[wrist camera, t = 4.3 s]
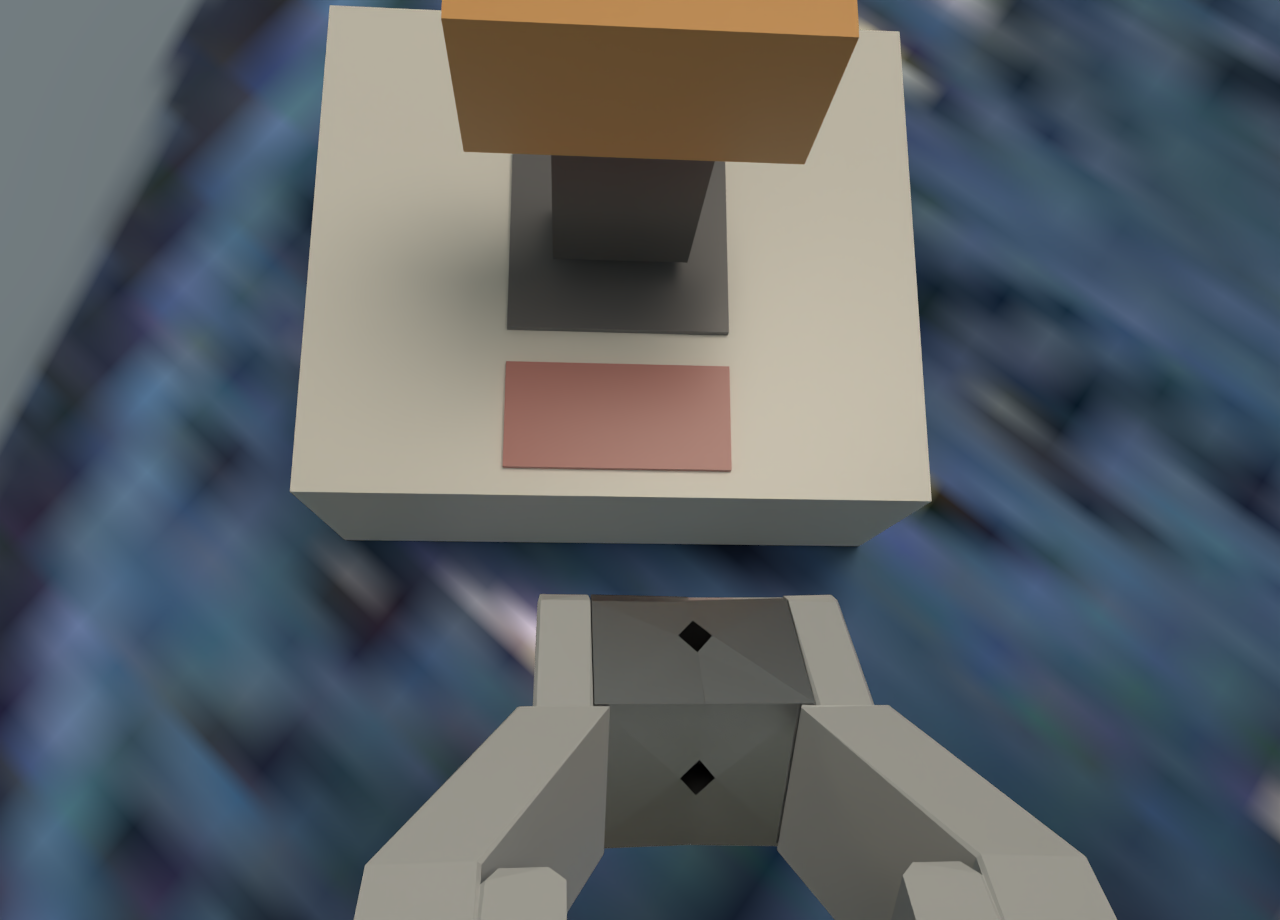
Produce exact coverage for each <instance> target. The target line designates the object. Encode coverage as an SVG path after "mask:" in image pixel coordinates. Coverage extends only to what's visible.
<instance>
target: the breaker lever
mask: <svg viewBox="0 0 1280 920" xmlns="http://www.w3.org/2000/svg"><path fill="white" fill-rule="evenodd" d="M441 21H442V26H443V32H444V38H445V44H446V50H447V56H448V62H449V68H450V74H451V80H452V86H453V92H454V98H455V104H456V110H457V115H458V121H459V127H460V133H461V139H462V145H463V151H464V152H481V153H508V154H535V155H551V178H552V235H553V259H582V260H615V261H648V262H681V263H687V262H688V259H689V255H690V251H691V248H692V244H693V240H694V236H695V233H696V229H697V225H698V222H699V218H700V214H701V211H702V207H703V203H704V199H705V196H706V192H707V188H708V185H709V181H710V177H711V174H712V170H713V166H714V162H715V161H724V162H751V163H778V164H805V162H806V160H807V157H808V155H809V153H810V151H811V148H812V146H813V144H814V141H815V139H816V137H817V134H818V132H819V130H820V127H821V125H822V123H823V120H824V118H825V116H826V113H827V111H828V109H829V106H830V104H831V102H832V99H833V97H834V95H835V92H836V90H837V88H838V85H839V83H840V81H841V78H842V76H843V74H844V71H845V69H846V67H847V65H848V62H849V60H850V58H851V55H852V53H853V51H854V48H855V46H856V44H857V41H858V39H859V25H858V7H857V0H442V11H441Z"/></svg>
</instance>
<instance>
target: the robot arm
mask: <svg viewBox="0 0 1280 920" xmlns="http://www.w3.org/2000/svg"><path fill="white" fill-rule="evenodd" d="M690 844H691V845H739V846H778V848H777V851H778V852H779V853H780V854H781V855H782V857H783V858H784V859H785V860H786V861H787V863H788V864H789V865H790V866H791V867H792V869H793V870H794V871H795V872H796V873H797V875H798V876H799V877H800V878H801V879H802V881H803V882H804V883H805V884H806V885H807V887H808V888H809V889H810V890H811V892H812V893H813V894H814V895H815V896H816V898H817V899H818V900H819V901H820V902H821V904H822V905H823V906H824V907H825V908H826V910H827V911H828V912H829V913H830V914H831V916H832V917H833V918H834V919H835V920H1117V918H1116V916H1115V914H1114V912H1113V910H1112V908H1111V906H1110V904H1109V902H1108V900H1107V898H1106V896H1105V894H1104V892H1103V890H1102V888H1101V886H1100V884H1099V882H1098V880H1097V878H1096V876H1095V874H1094V872H1093V870H1092V868H1091V866H1090V864H1089V862H1088V860H1087V858H1086V857H1085V856H1084V855H1083V854H1082V853H1080V852H1079V851H1078V850H1076V849H1075V848H1074V847H1072V846H1071V845H1070V844H1069V843H1067V842H1066V841H1065V840H1063V839H1062V838H1061V837H1059V836H1058V835H1057V834H1056V833H1054V832H1053V831H1052V830H1050V829H1049V828H1048V827H1046V826H1045V825H1044V824H1043V823H1041V822H1040V821H1039V820H1037V819H1036V818H1035V817H1033V816H1032V815H1031V814H1030V813H1028V812H1027V811H1026V810H1024V809H1023V808H1022V807H1020V806H1019V805H1018V804H1017V803H1015V802H1014V801H1013V800H1011V799H1010V798H1009V797H1007V796H1006V795H1005V794H1004V793H1002V792H1001V791H1000V790H998V789H997V788H996V787H994V786H993V785H992V784H991V783H989V782H988V781H987V780H985V779H984V778H983V777H981V776H980V775H979V774H977V773H976V772H975V771H974V770H972V769H971V768H970V767H968V766H967V765H966V764H964V763H963V762H962V761H961V760H959V759H958V758H957V757H955V756H954V755H953V754H951V753H950V752H949V751H948V750H946V749H945V748H944V747H942V746H941V745H940V744H938V743H937V742H936V741H935V740H933V739H932V738H931V737H929V736H928V735H927V734H925V733H924V732H923V731H922V730H920V729H919V728H918V727H916V726H915V725H914V724H912V723H911V722H910V721H909V720H907V719H906V718H905V717H903V716H902V715H901V714H899V713H898V712H897V711H896V710H894V709H893V708H892V707H890V706H889V705H874V703H873V700H872V697H871V694H870V691H869V689H868V686H867V683H866V680H865V677H864V674H863V671H862V669H861V666H860V663H859V660H858V657H857V654H856V651H855V649H854V646H853V643H852V640H851V637H850V634H849V632H848V629H847V626H846V623H845V620H844V617H843V614H842V612H841V609H840V606H839V603H838V600H836V599H835V598H834V597H833V596H832V595H801V596H783V598H780V597H771V598H688V597H669V596H629V595H591V598H589V596H588V595H565V594H540V596H539V600H538V605H537V627H536V650H535V672H534V695H533V706H528V707H517V708H516V709H515V711H514V712H513V713H512V714H511V715H510V716H509V717H508V718H507V719H506V720H505V721H504V722H503V723H502V724H501V725H500V726H499V727H498V728H497V729H496V730H495V731H494V732H493V733H492V734H491V735H490V736H489V737H488V738H487V740H486V741H485V742H484V743H483V744H482V745H481V746H480V747H479V748H478V749H477V750H476V751H475V752H474V753H473V754H472V755H471V756H470V757H469V758H468V759H467V760H466V761H465V762H464V763H463V764H462V765H461V766H460V767H459V769H458V770H457V771H456V772H455V773H454V774H453V775H452V776H451V777H450V778H449V779H448V780H447V781H446V782H445V783H444V784H443V785H442V786H441V787H440V788H439V789H438V790H437V791H436V792H435V793H434V794H433V795H432V796H431V798H430V799H429V800H428V801H427V802H426V803H425V804H424V805H423V806H422V807H421V808H420V809H419V810H418V811H417V812H416V813H415V814H414V815H413V816H412V817H411V818H410V819H409V820H408V821H407V822H406V823H405V824H404V825H403V827H402V828H401V829H400V830H399V831H398V832H397V833H396V834H395V835H394V836H393V837H392V838H391V839H390V840H389V841H388V842H387V843H386V844H385V845H384V846H383V847H382V848H381V849H380V850H379V851H378V852H377V853H376V854H375V856H374V857H373V858H372V859H371V860H370V861H369V862H368V863H367V864H366V865H365V868H364V873H363V878H362V883H361V887H360V892H359V897H358V902H357V907H356V912H355V917H354V920H567V912H568V910H569V909H570V907H571V905H572V904H573V902H574V901H575V899H576V897H577V896H578V894H579V893H580V891H581V889H582V888H583V886H584V885H585V883H586V881H587V880H588V878H589V877H590V875H591V873H592V872H593V870H594V868H595V867H596V865H597V864H598V862H599V860H600V859H601V857H602V856H603V854H604V848H623V847H647V846H672V845H690Z"/></svg>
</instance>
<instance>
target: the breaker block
mask: <svg viewBox="0 0 1280 920" xmlns="http://www.w3.org/2000/svg"><path fill="white" fill-rule="evenodd" d="M290 492H291V493H292V494H293V495H294V496H295V497H297V498H298V499H299V500H300V501H301V502H302V503H303V504H305V505H306V506H307V507H308V508H309V509H310V510H311V511H313V512H314V513H315V514H316V515H317V516H318V517H319V518H321V519H322V520H323V521H324V522H325V523H326V524H327V525H328V526H330V527H331V528H332V529H333V530H334V531H335V532H336V533H338V534H339V535H340V536H341V537H342V538H343V539H344V540H385V541H469V542H552V543H636V544H719V545H803V546H860V545H862V544H863V543H865V542H866V541H868V540H870V539H871V538H873V537H875V536H876V535H878V534H879V533H881V532H883V531H884V530H886V529H887V528H889V527H891V526H892V525H894V524H896V523H897V522H899V521H900V520H902V519H904V518H905V517H907V516H909V515H910V514H912V513H913V512H915V511H917V510H918V509H920V508H921V507H923V506H925V505H926V504H928V503H930V502H931V501H932V500H931V485H930V471H929V456H928V442H927V427H926V413H925V398H924V383H923V369H922V354H921V340H920V325H919V311H918V296H917V281H916V267H915V252H914V238H913V223H912V208H911V194H910V179H909V165H908V150H907V136H906V121H905V106H904V92H903V77H902V63H901V48H900V34H899V32H896V31H874V30H859V39H858V41H857V44H856V46H855V48H854V51H853V53H852V55H851V58H850V60H849V62H848V65H847V67H846V69H845V71H844V74H843V76H842V78H841V81H840V83H839V85H838V88H837V90H836V92H835V95H834V97H833V99H832V102H831V104H830V106H829V109H828V111H827V113H826V116H825V118H824V120H823V123H822V125H821V127H820V130H819V132H818V134H817V137H816V139H815V141H814V144H813V146H812V148H811V151H810V153H809V155H808V157H807V160H806V162H805V164H778V163H751V162H724V161H715V162H714V166H713V170H712V174H711V177H710V181H709V185H708V188H707V192H706V196H705V199H704V203H703V207H702V211H701V214H700V218H699V222H698V225H697V229H696V233H695V236H694V240H693V244H692V248H691V251H690V255H689V259H688V262H687V263H681V262H648V261H615V260H582V259H553V235H552V178H551V155H535V154H508V153H481V152H464V151H463V145H462V139H461V133H460V127H459V121H458V115H457V110H456V104H455V98H454V92H453V86H452V80H451V74H450V68H449V62H448V56H447V50H446V44H445V38H444V32H443V26H442V21H441V11H440V10H418V9H396V8H374V7H353V6H331V5H330V10H329V22H328V35H327V47H326V59H325V71H324V83H323V96H322V108H321V120H320V132H319V144H318V156H317V169H316V181H315V193H314V205H313V217H312V229H311V242H310V254H309V266H308V278H307V290H306V302H305V315H304V327H303V339H302V351H301V363H300V375H299V388H298V400H297V412H296V424H295V436H294V448H293V461H292V473H291V485H290Z"/></svg>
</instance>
